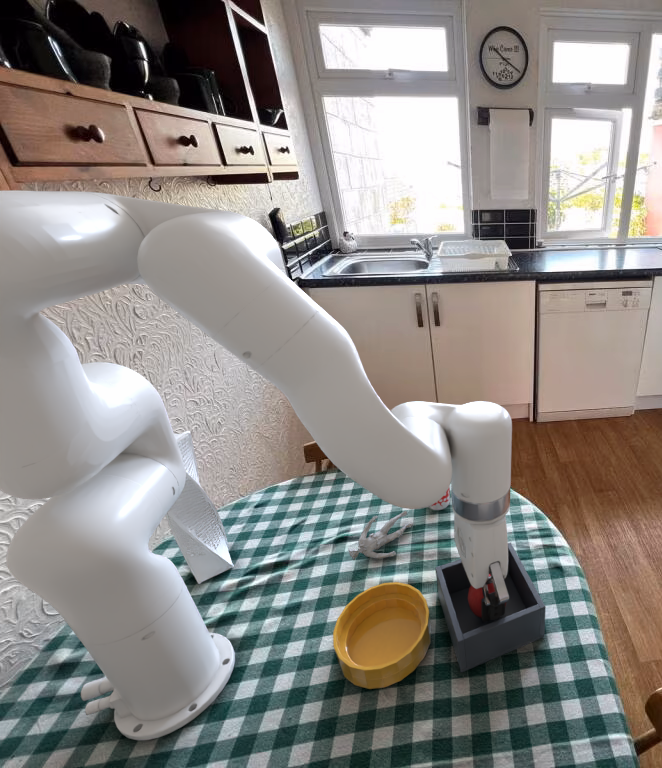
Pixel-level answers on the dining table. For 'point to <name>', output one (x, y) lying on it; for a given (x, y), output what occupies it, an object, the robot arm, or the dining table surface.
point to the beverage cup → (442, 502)
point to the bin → (494, 636)
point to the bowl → (382, 635)
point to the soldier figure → (378, 539)
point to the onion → (478, 598)
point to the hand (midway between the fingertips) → (482, 589)
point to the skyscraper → (197, 521)
